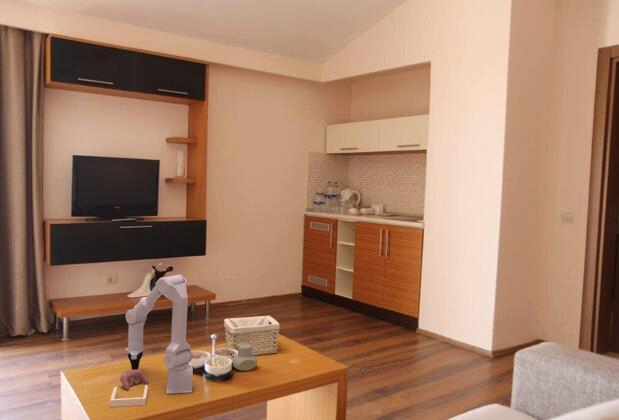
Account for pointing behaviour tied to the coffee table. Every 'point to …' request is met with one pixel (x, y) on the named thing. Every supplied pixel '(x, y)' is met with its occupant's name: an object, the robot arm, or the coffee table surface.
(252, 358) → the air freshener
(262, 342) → the storage basket
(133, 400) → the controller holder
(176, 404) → the coffee table surface
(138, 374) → the video game controller
